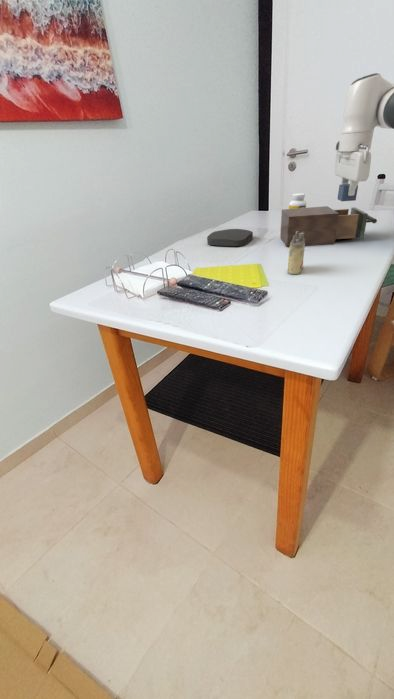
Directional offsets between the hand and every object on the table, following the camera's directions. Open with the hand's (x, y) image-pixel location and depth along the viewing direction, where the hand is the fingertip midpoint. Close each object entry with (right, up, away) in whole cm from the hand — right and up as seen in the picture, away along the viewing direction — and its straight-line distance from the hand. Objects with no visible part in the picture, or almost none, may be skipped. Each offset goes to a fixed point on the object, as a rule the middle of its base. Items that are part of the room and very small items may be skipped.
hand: (347, 194), depth 108 cm
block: (0, -1, +1) cm, 2 cm away
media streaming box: (-36, -11, +15) cm, 41 cm away
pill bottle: (-8, 0, +28) cm, 29 cm away
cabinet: (-11, -12, +8) cm, 18 cm away
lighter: (-21, -28, -15) cm, 39 cm away
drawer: (+1, -11, +7) cm, 13 cm away
